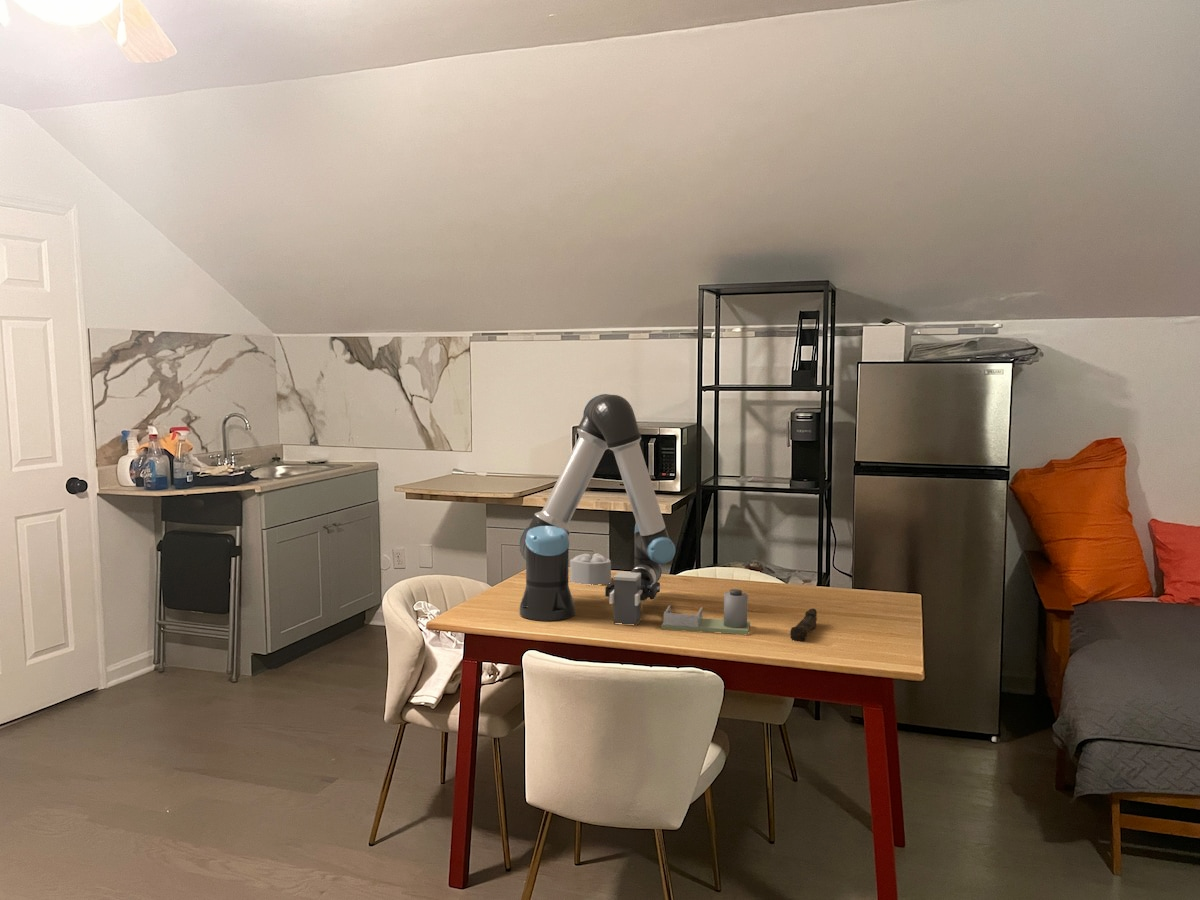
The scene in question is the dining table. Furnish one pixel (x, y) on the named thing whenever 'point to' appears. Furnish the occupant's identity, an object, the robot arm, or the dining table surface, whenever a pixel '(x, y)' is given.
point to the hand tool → (804, 626)
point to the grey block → (626, 597)
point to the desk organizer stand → (725, 616)
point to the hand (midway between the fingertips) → (623, 599)
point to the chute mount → (682, 618)
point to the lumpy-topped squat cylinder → (590, 569)
